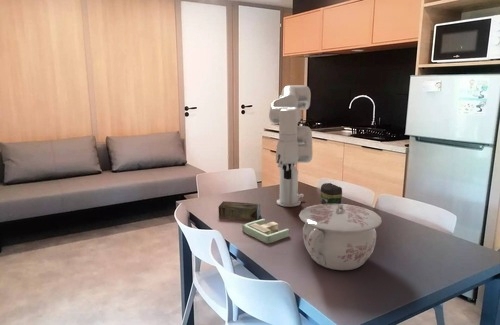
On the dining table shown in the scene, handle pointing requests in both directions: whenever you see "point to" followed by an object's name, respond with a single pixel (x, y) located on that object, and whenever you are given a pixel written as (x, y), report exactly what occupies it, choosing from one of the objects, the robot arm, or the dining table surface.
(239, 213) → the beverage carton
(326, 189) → the coffee jar
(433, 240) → the dining table surface
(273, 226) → the t block
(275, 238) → the dock
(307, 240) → the chamber pot
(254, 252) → the dining table surface
